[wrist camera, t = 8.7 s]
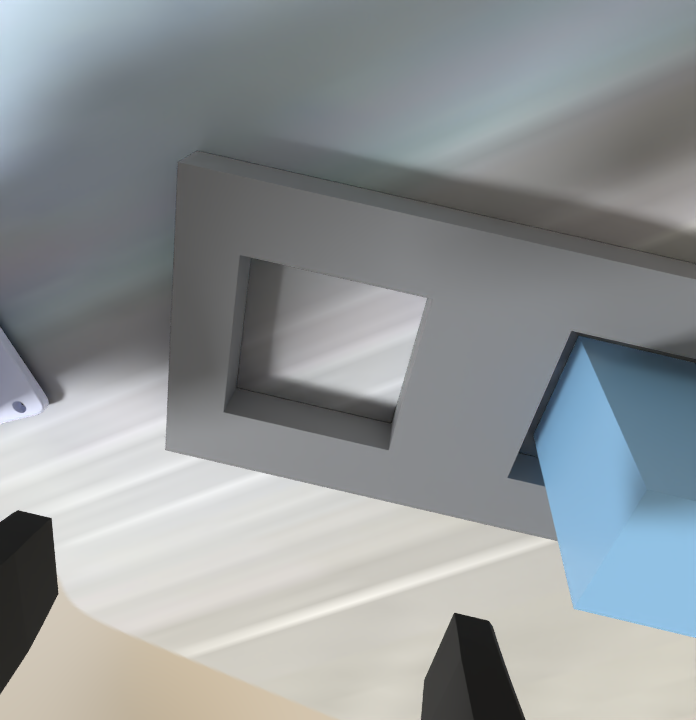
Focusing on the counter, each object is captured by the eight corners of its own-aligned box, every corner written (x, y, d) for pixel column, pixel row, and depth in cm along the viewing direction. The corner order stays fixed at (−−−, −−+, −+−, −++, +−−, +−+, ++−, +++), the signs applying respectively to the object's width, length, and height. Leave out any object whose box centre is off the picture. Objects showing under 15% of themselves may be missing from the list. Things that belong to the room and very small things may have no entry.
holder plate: (683, 541, 22) (698, 573, 21) (180, 424, 22) (165, 450, 21) (849, 298, 17) (884, 322, 16) (196, 150, 17) (177, 161, 16)
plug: (646, 462, 21) (733, 646, 15) (533, 435, 21) (573, 608, 15) (704, 365, 19) (834, 533, 13) (578, 335, 19) (647, 489, 13)
